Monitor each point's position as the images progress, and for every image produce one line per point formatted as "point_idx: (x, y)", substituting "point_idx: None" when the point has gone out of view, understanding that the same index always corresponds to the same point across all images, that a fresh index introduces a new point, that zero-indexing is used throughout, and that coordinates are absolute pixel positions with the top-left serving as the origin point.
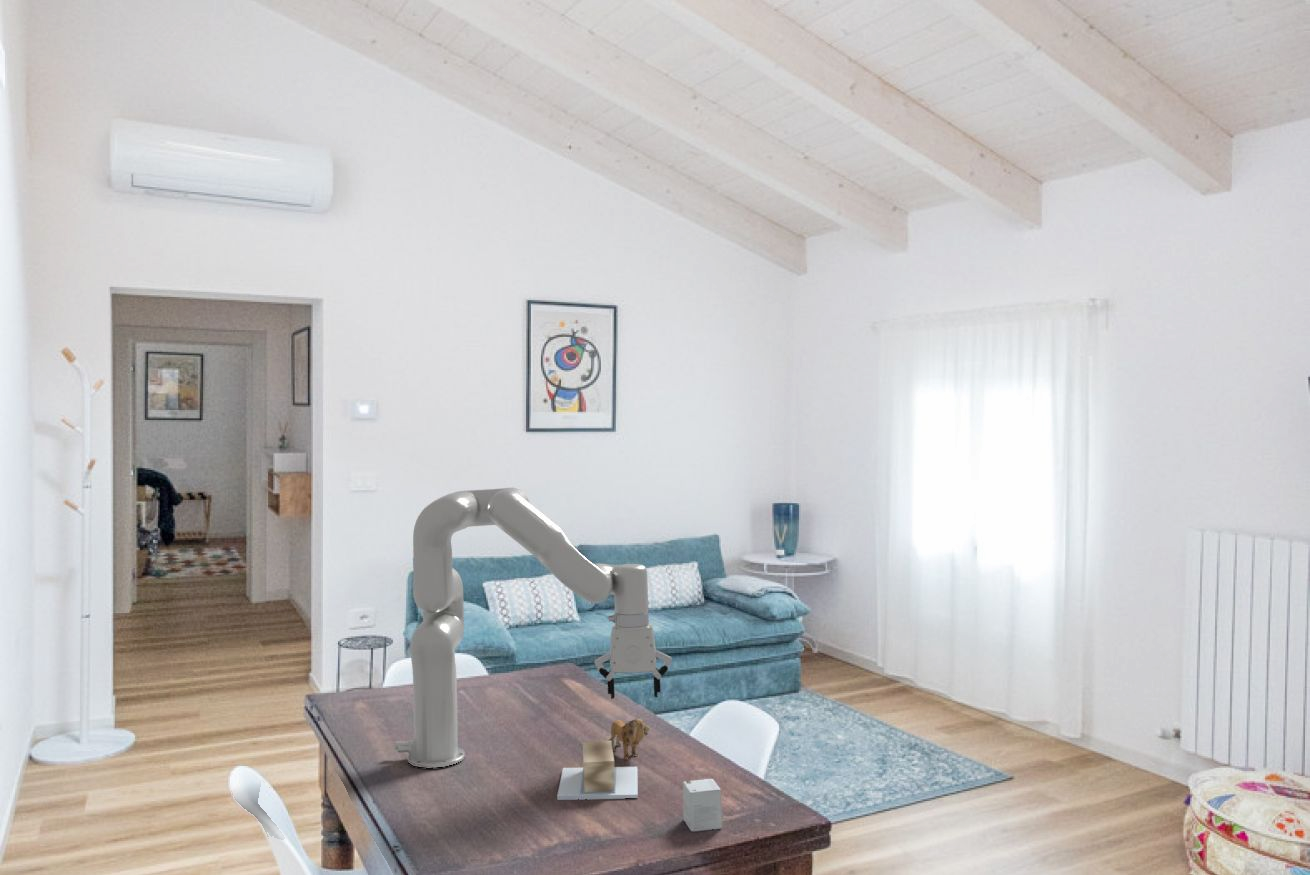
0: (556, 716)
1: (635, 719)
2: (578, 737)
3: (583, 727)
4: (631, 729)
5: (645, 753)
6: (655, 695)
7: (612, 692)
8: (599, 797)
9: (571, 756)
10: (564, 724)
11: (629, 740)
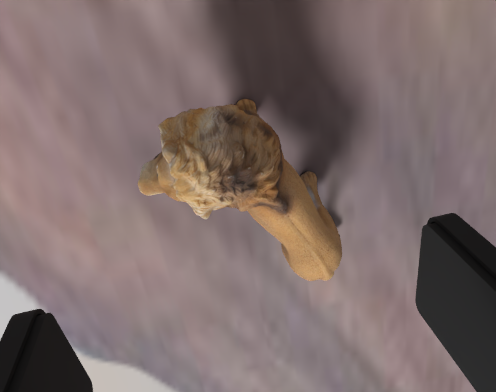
0: (472, 387)
1: (220, 189)
2: None
3: (407, 341)
4: (232, 127)
5: None
6: (28, 316)
7: (475, 246)
8: None
9: (453, 102)
10: None
11: (237, 106)
